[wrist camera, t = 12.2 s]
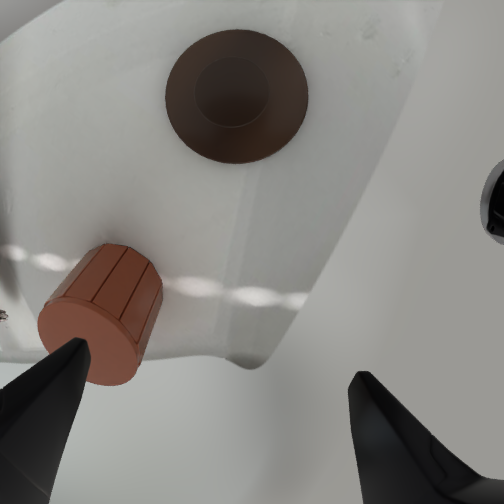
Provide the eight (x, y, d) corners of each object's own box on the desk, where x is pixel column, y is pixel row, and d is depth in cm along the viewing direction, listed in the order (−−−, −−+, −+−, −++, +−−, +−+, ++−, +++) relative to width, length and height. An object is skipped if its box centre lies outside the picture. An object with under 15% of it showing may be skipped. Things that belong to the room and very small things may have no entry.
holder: (315, 45, 15) (344, 23, 10) (292, 171, 18) (311, 200, 13) (178, 27, 14) (150, -1, 9) (161, 154, 18) (128, 176, 13)
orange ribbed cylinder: (163, 250, 21) (132, 314, 14) (163, 326, 24) (142, 395, 18) (76, 238, 20) (25, 291, 14) (87, 312, 23) (52, 371, 17)
